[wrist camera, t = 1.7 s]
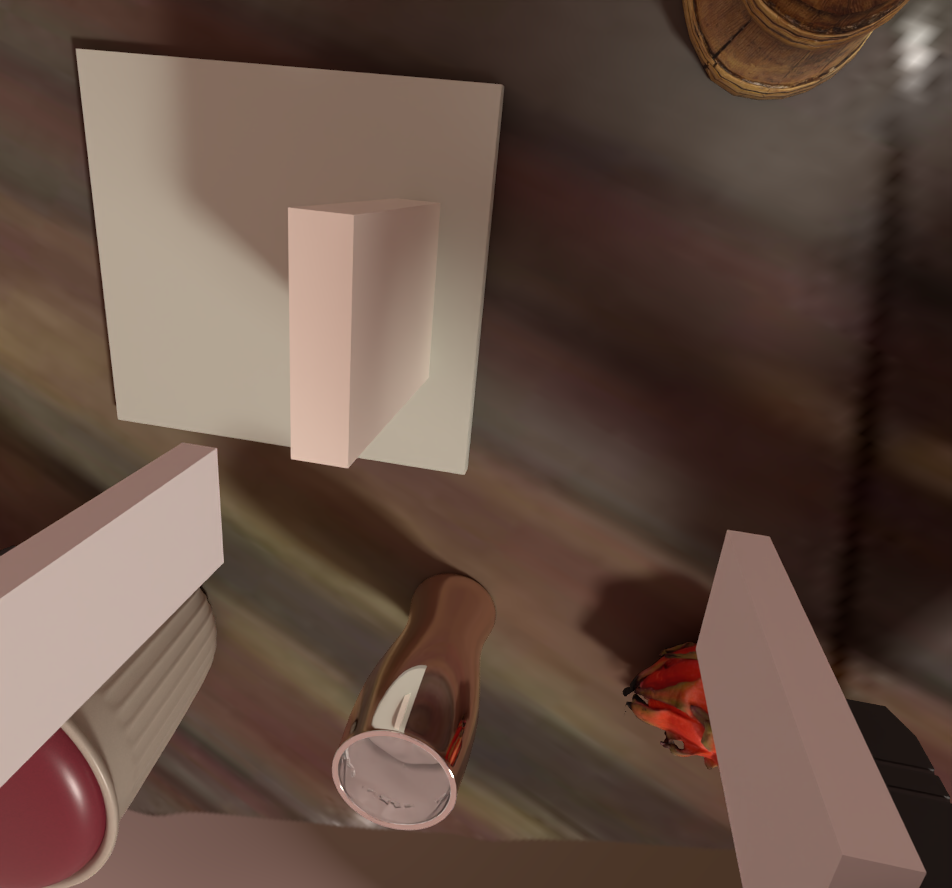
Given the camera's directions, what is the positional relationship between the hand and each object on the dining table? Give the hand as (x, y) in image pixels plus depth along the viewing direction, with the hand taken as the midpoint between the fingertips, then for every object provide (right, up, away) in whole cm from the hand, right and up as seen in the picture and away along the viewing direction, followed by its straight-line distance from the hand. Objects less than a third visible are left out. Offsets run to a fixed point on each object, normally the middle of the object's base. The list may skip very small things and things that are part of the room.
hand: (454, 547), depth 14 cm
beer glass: (-1, -10, +34) cm, 36 cm away
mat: (-11, +12, +27) cm, 32 cm away
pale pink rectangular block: (-3, +11, +26) cm, 28 cm away
